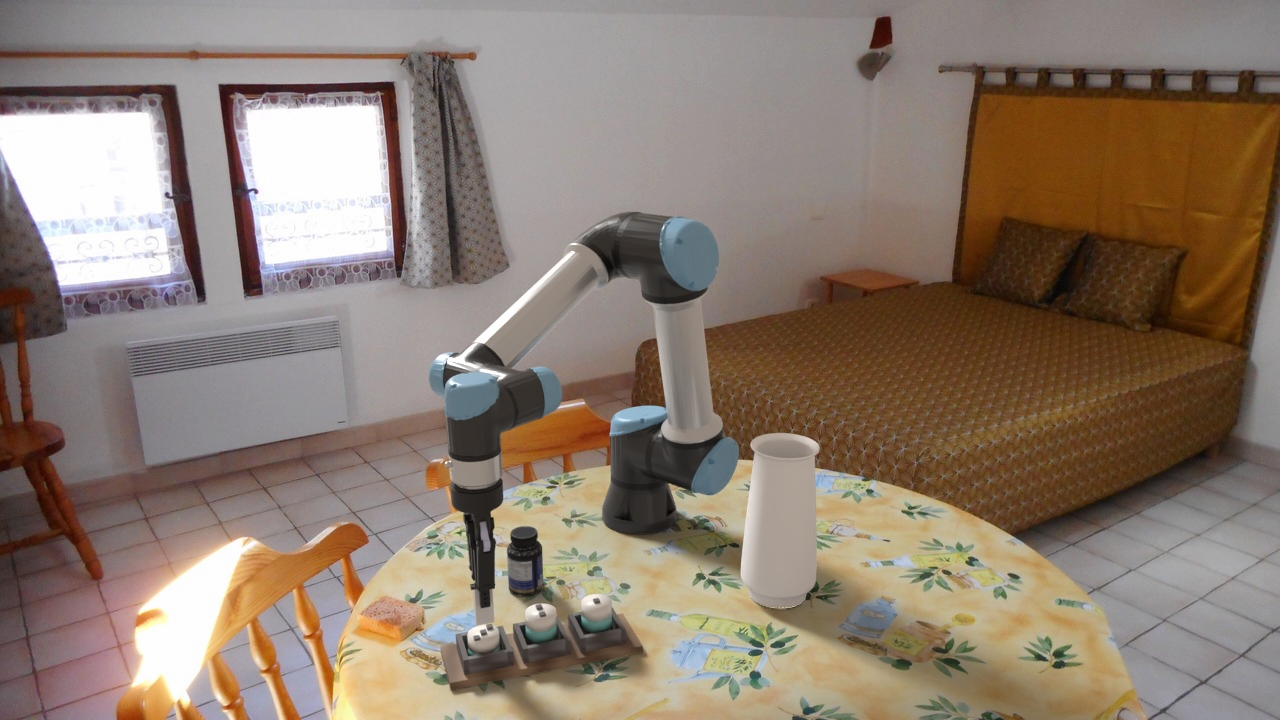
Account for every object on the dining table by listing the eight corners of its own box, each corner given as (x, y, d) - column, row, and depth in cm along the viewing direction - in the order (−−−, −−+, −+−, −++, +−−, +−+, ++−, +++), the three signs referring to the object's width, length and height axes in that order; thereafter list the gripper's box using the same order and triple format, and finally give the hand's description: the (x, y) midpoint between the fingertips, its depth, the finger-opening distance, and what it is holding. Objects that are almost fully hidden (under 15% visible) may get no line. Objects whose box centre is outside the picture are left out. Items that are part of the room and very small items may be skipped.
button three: (496, 645, 153) (495, 620, 152) (503, 662, 149) (501, 636, 148) (466, 650, 152) (464, 625, 151) (471, 668, 148) (470, 642, 146)
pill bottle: (529, 576, 177) (527, 520, 173) (550, 588, 172) (549, 532, 169) (501, 588, 172) (499, 531, 169) (522, 601, 168) (520, 543, 165)
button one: (606, 613, 158) (606, 589, 157) (615, 629, 154) (615, 604, 153) (578, 619, 157) (577, 594, 156) (586, 634, 153) (586, 610, 151)
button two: (552, 623, 156) (551, 599, 154) (560, 639, 151) (559, 614, 150) (522, 629, 154) (522, 604, 153) (529, 645, 150) (528, 620, 148)
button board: (622, 619, 163) (622, 599, 162) (642, 652, 154) (642, 631, 153) (440, 652, 153) (439, 632, 152) (450, 690, 144) (449, 668, 143)
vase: (743, 572, 178) (749, 428, 170) (816, 580, 176) (825, 434, 167) (735, 610, 166) (741, 456, 158) (813, 618, 163) (823, 463, 155)
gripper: (443, 465, 147) (453, 603, 154) (457, 501, 135) (467, 649, 142) (493, 458, 149) (500, 595, 156) (511, 493, 137) (518, 639, 144)
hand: (484, 621), depth 149 cm, fingers closed
